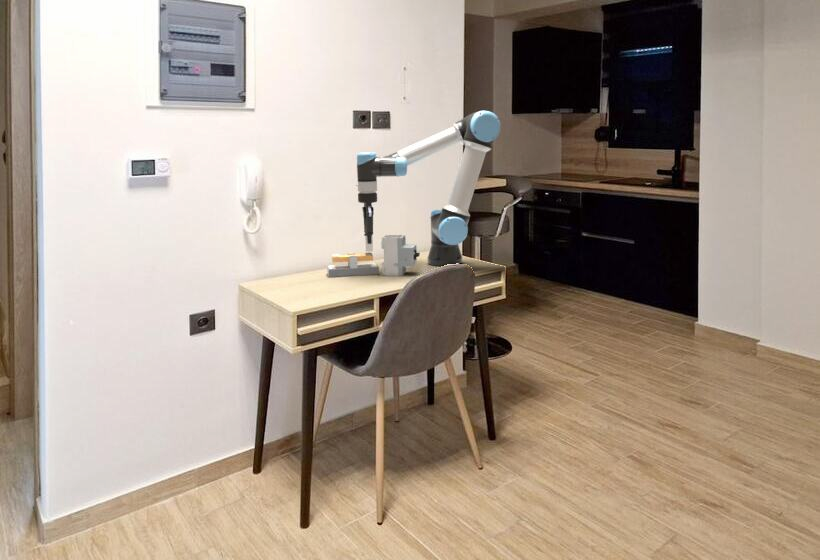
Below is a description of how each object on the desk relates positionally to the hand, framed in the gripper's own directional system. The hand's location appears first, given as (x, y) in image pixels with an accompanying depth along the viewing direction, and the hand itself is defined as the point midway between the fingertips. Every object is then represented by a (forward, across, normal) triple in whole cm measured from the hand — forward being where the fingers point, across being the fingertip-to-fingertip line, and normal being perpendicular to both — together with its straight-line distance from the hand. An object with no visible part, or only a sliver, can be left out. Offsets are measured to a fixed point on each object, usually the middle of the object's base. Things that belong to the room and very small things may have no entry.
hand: (369, 251), depth 259 cm
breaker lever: (+3, 0, -7) cm, 8 cm away
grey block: (+9, 0, -7) cm, 11 cm away
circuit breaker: (+9, +5, +12) cm, 16 cm away
